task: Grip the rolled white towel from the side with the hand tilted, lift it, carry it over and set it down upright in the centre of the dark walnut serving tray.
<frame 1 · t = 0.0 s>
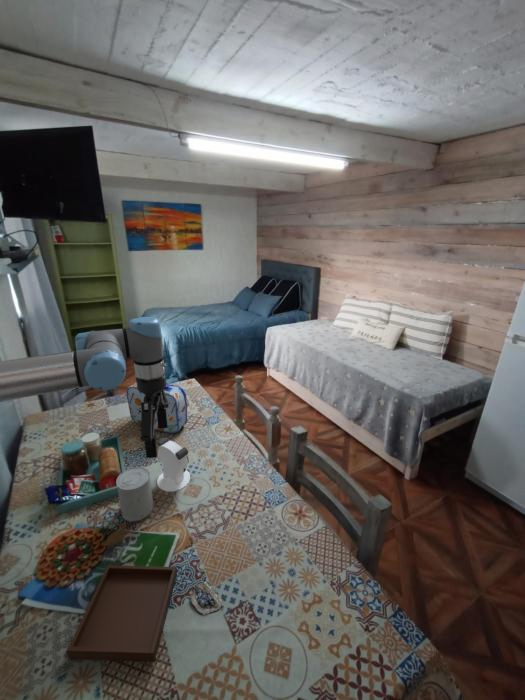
hand: (157, 441, 92), 26 cm above the table, tool pointing down, fingers open, 13 cm apart
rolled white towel: (137, 508, 101), on the table
tray: (129, 612, 73), on the table
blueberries: (207, 599, 76), on the table
lunch box: (161, 426, 143), on the table
white upright piece: (174, 480, 112), on the table
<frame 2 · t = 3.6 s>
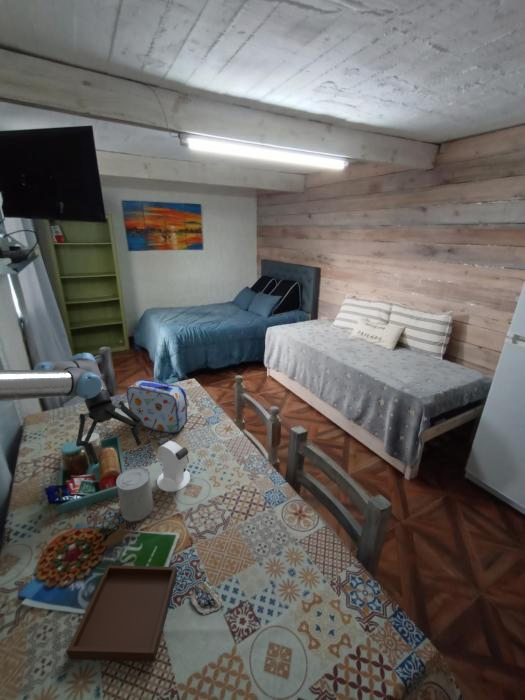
hand: (119, 453, 102), 15 cm above the table, tool tilted 45°, fingers open, 13 cm apart
nothing on the table moved.
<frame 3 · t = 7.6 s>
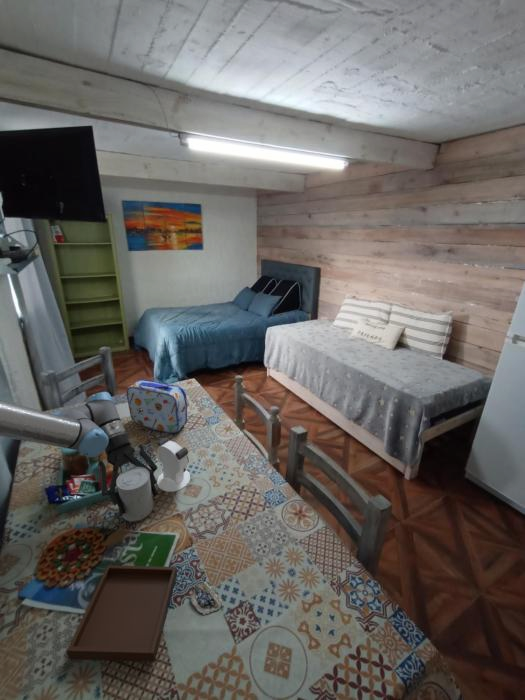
hand: (140, 504, 97), 4 cm above the table, tool tilted 45°, fingers closed on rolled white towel, 9 cm apart
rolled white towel: (137, 508, 100), on the table, touching gripper
everything else where it was.
when the fingers open (5 cm above the table, at t = 17.0 s): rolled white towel stays where it is, resting on tray.
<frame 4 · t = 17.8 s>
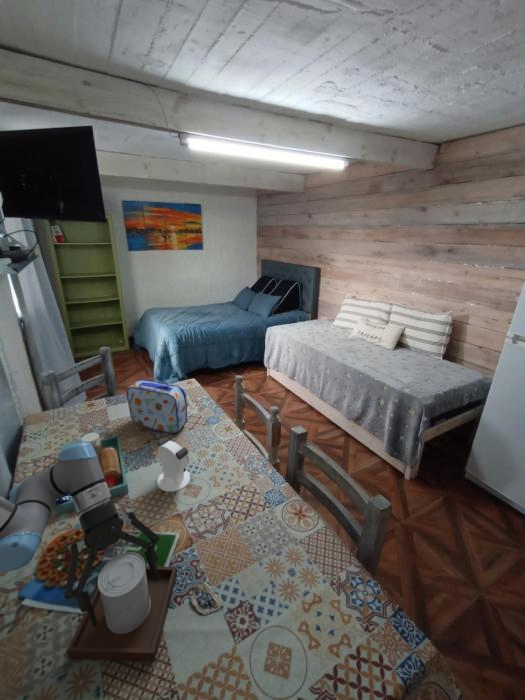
hand: (128, 600, 69), 7 cm above the table, tool tilted 45°, fingers open, 13 cm apart
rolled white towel: (129, 610, 73), point 1 cm above the table, touching tray
everything else where it was.
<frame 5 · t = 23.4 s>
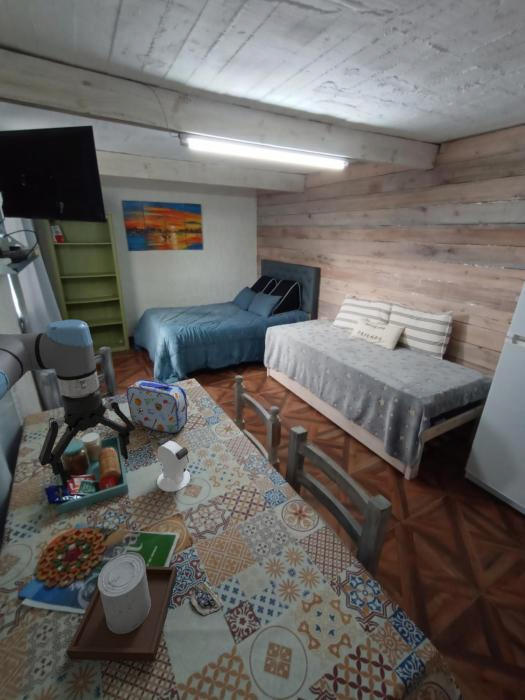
hand: (96, 469, 76), 29 cm above the table, tool pointing down, fingers open, 13 cm apart
nothing on the table moved.
at the end: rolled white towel 0.0 cm off-centre in the tray, point 0.8 cm above the tray's base; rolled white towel tilted 0°; the gripper is holding nothing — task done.
